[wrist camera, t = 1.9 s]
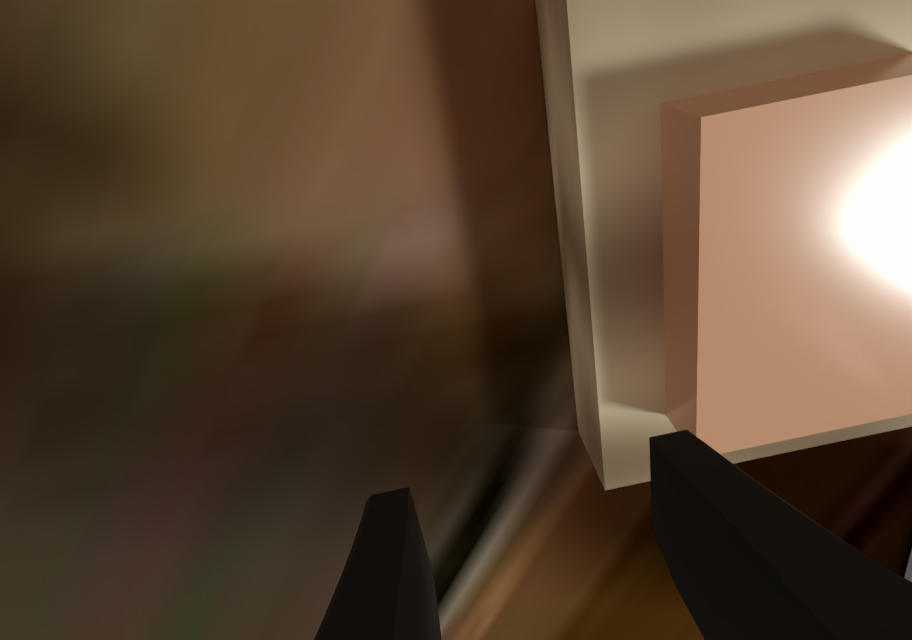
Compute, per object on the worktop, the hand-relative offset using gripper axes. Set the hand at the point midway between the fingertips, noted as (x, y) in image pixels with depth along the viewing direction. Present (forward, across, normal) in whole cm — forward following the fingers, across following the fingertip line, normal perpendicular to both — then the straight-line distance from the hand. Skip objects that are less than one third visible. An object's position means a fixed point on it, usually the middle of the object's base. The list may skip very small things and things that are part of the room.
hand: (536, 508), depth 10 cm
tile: (+7, -8, 0) cm, 11 cm away
